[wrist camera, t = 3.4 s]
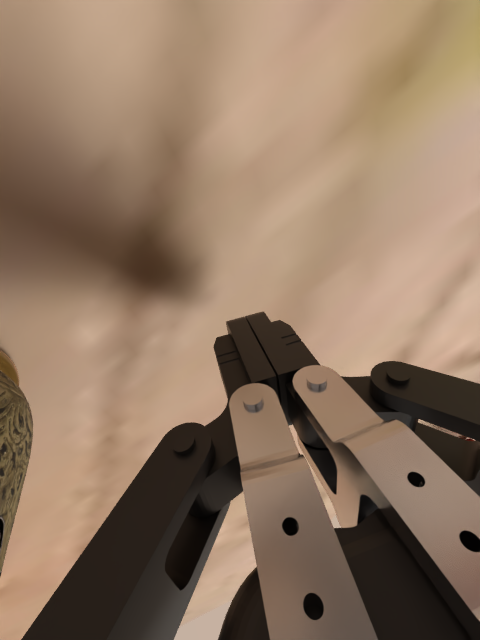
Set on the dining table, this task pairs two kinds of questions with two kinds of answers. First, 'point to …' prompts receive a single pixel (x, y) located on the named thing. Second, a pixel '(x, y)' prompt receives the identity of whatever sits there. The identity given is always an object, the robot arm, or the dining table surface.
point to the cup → (12, 447)
